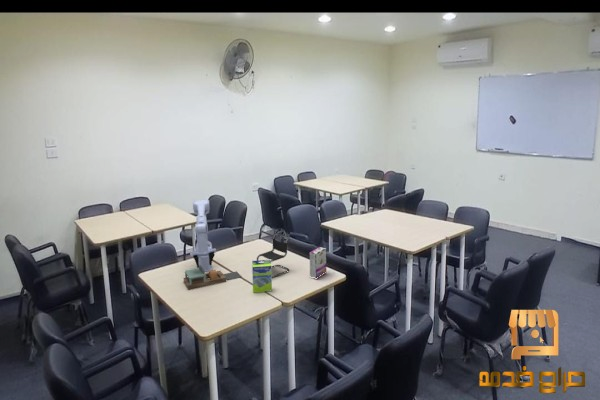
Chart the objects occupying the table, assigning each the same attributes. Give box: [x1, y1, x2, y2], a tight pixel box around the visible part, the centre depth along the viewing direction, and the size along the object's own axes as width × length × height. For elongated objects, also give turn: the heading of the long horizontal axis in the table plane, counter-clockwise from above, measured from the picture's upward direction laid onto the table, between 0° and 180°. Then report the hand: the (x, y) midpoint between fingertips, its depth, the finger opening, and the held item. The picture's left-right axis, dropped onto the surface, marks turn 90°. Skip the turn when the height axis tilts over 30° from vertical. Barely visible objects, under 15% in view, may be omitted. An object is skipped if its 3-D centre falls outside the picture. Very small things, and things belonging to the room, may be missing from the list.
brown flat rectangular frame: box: [183, 270, 227, 291], centre depth 228 cm, size 12×22×2 cm, turn 118°
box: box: [251, 259, 273, 293], centre depth 215 cm, size 10×4×17 cm, turn 100°
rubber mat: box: [223, 270, 242, 281], centre depth 236 cm, size 9×9×1 cm
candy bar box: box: [309, 246, 327, 278], centre depth 234 cm, size 11×5×16 cm, turn 143°
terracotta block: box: [208, 269, 218, 280], centre depth 230 cm, size 4×4×6 cm
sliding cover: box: [184, 265, 206, 285], centre depth 225 cm, size 12×9×6 cm
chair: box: [256, 232, 291, 278], centre depth 239 cm, size 13×17×22 cm
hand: (204, 265), depth 227 cm, fingers open, 7 cm apart
